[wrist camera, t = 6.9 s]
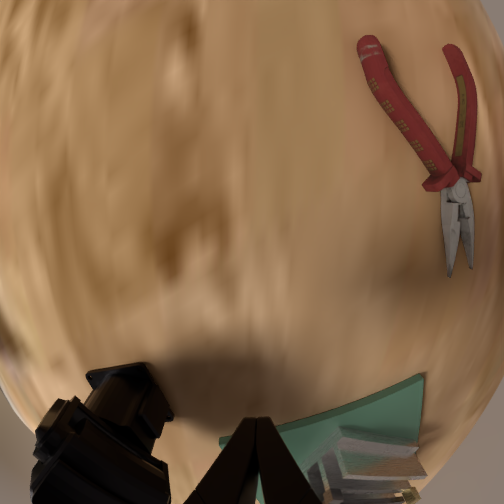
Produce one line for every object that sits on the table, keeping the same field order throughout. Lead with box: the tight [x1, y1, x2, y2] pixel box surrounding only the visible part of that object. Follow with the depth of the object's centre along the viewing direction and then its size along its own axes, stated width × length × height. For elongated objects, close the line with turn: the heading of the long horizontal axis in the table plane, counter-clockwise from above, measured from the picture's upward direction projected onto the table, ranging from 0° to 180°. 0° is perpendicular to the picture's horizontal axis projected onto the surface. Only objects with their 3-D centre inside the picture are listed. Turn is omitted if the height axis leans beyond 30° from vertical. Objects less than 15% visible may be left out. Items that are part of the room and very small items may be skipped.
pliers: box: [357, 35, 482, 278], centre depth 18 cm, size 12×20×3 cm, turn 14°
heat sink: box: [298, 426, 428, 504], centre depth 20 cm, size 12×12×8 cm
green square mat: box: [219, 374, 424, 504], centre depth 24 cm, size 20×20×1 cm
